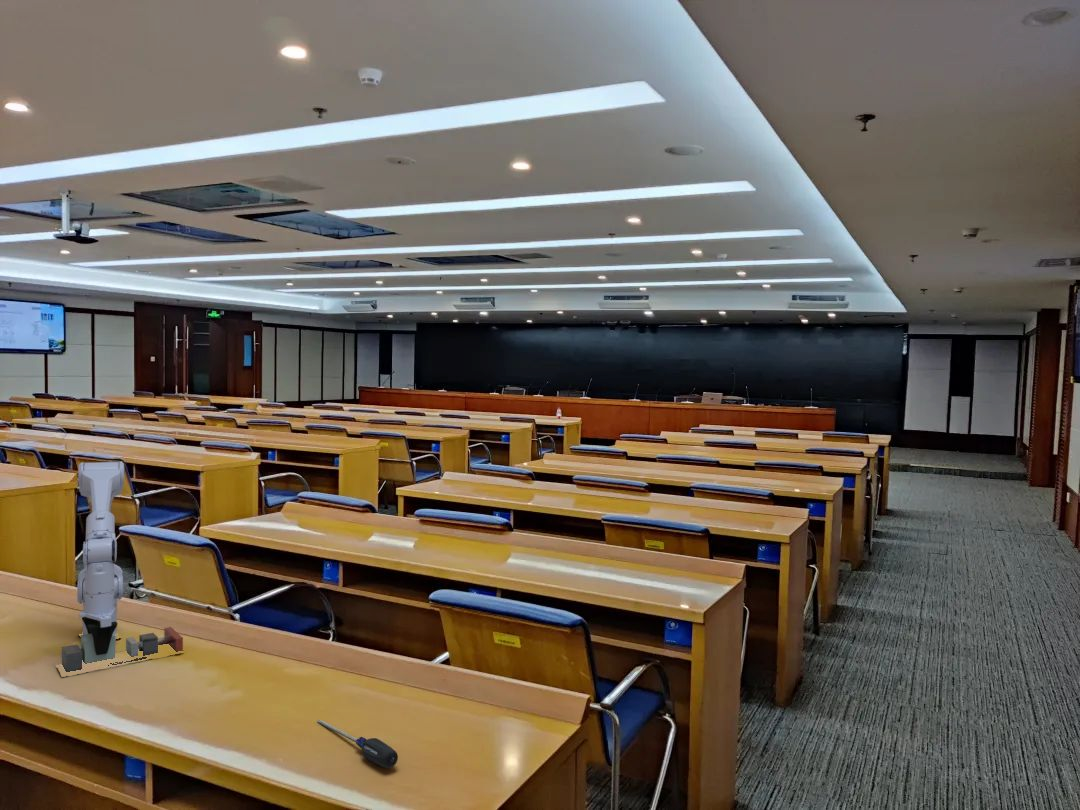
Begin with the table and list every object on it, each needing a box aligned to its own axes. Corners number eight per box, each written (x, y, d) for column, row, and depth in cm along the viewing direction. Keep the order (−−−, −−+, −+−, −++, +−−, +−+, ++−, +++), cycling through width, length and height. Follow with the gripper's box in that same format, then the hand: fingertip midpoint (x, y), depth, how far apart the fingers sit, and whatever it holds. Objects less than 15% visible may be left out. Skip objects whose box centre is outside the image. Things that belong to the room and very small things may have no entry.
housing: (80, 657, 170) (81, 631, 169) (110, 651, 173) (111, 626, 173) (84, 663, 166) (84, 637, 166) (115, 657, 170) (115, 632, 169)
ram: (123, 647, 177) (123, 635, 177) (170, 639, 184) (170, 626, 184) (133, 660, 170) (133, 647, 170) (182, 650, 177) (182, 637, 177)
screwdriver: (309, 724, 143) (309, 705, 143) (326, 719, 145) (326, 699, 145) (383, 778, 124) (383, 755, 124) (401, 770, 127) (402, 748, 127)
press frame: (55, 667, 168) (55, 646, 168) (174, 644, 184) (174, 625, 184) (61, 678, 162) (61, 657, 161) (183, 653, 178) (183, 634, 178)
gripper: (73, 586, 172) (72, 645, 173) (85, 601, 161) (84, 663, 162) (108, 582, 177) (107, 638, 177) (122, 596, 166) (121, 656, 166)
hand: (99, 650), depth 170 cm, fingers closed on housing, 5 cm apart
